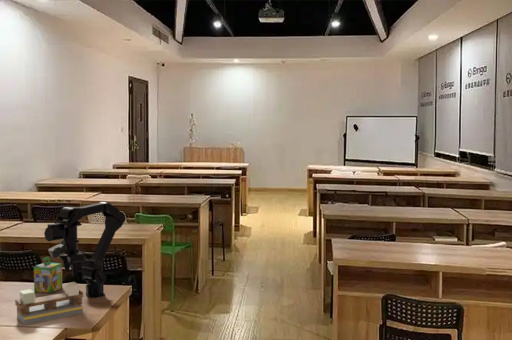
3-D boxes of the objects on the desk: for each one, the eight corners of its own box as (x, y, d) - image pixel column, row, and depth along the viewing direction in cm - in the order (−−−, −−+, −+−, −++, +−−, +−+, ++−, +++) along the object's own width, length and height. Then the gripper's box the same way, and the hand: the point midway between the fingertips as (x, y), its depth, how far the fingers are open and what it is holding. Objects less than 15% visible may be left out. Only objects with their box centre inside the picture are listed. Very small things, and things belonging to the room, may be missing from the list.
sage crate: (30, 299, 212) (30, 289, 212) (34, 302, 208) (34, 292, 208) (19, 301, 210) (19, 290, 210) (23, 304, 206) (23, 294, 206)
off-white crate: (74, 291, 223) (74, 281, 222) (78, 294, 219) (78, 284, 218) (64, 293, 220) (64, 283, 220) (68, 296, 216) (68, 286, 216)
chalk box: (52, 293, 243) (51, 260, 242) (33, 292, 245) (32, 259, 244) (63, 287, 252) (62, 255, 251) (45, 286, 254) (44, 254, 253)
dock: (73, 306, 225) (73, 299, 225) (83, 313, 217) (82, 306, 217) (17, 317, 212) (16, 310, 212) (24, 325, 204) (24, 317, 204)
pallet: (77, 300, 224) (77, 288, 224) (83, 304, 220) (83, 292, 219) (15, 311, 210) (15, 299, 209) (19, 316, 205) (19, 303, 205)
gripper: (43, 236, 231) (44, 272, 232) (57, 243, 216) (58, 282, 218) (69, 233, 238) (70, 268, 239) (85, 240, 223) (86, 278, 224)
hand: (70, 274), depth 230 cm, fingers open, 9 cm apart
